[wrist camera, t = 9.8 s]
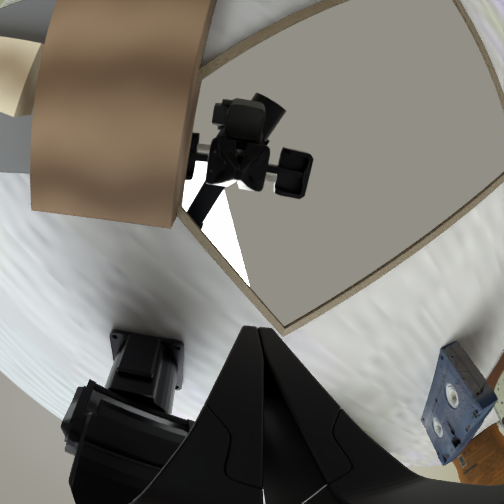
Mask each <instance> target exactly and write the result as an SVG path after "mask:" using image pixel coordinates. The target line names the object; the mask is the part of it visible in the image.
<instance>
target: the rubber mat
mask: <svg viewBox="0 0 504 504" xmlns="http://www.w3.org/2000/svg"><path fill="white" fill-rule="evenodd" d="M56 2H57V0H23V1H20V2H17V3H14V4H12V5H9V6H7V7H4V8H2V9H0V36H1V37H8V38H15V39H21V40H27V41H32V42H37V43H42V44H45V40H46V36H47V32H48V28H49V25H50V21H51V18H52V14H53V11H54V8H55V5H56ZM33 108H34V106H33ZM32 118H33V109H32V112H31V115H26V116H18V117H12V116H10V115H7V114H4V113H2V112H0V172H7V173H30V150H31V130H32Z"/></svg>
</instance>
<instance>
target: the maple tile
mask: <svg viewBox="0 0 504 504" xmlns="http://www.w3.org/2000/svg"><path fill="white" fill-rule="evenodd" d="M43 48H44V44H42V43H37V42H32V41H27V40H21V39H15V38H8V37H1V36H0V112H2V113H4V114H7V115H10V116H12V117H18V116H26V115H31V112H32V109H33V106H34V99H35V92H36V85H37V79H38V73H39V67H40V62H41V57H42V53H43Z"/></svg>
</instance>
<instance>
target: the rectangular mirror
mask: <svg viewBox="0 0 504 504" xmlns="http://www.w3.org/2000/svg"><path fill="white" fill-rule="evenodd" d="M503 182H504V94H503V91H502V88H501V85H500V82H499V80H498V77H497V75H496V72H495V70H494V67H493V65H492V62H491V60H490V58H489V56H488V53H487V51H486V49H485V47H484V45H483V43H482V41H481V39H480V37H479V35H478V33H477V31H476V29H475V27H474V25H473V23H472V21H471V19H470V18H469V16H468V14H467V12H466V11H465V9H464V7H463V6H462V4H461V2H460V1H459V0H323V1H321V2H319V3H316V4H314V5H312V6H309V7H307V8H305V9H303V10H300V11H298V12H296V13H294V14H292V15H290V16H288V17H286V18H284V19H282V20H280V21H278V22H276V23H274V24H272V25H270V26H268V27H266V28H265V29H263V30H261V31H259V32H257V33H256V34H254V35H252V36H250V37H249V38H247V39H245V40H243V41H242V42H240V43H238V44H237V45H235V46H233V47H232V48H230V49H229V50H227V51H225V52H224V53H222V54H221V55H219V56H218V57H216V58H215V59H213V60H212V61H210V62H209V63H207V64H206V65H204V66H203V67H201V68H200V69H199V71H198V76H197V81H196V89H195V94H194V99H193V105H192V110H191V116H190V122H189V128H188V134H187V141H186V147H185V154H184V161H183V168H182V176H181V184H180V192H179V201H178V206H177V217H178V218H179V219H180V220H181V221H182V223H183V224H184V225H185V226H186V227H187V228H188V230H189V231H190V232H191V233H192V234H193V236H194V237H195V238H196V239H197V240H198V241H199V243H200V244H201V245H202V246H203V247H204V248H205V250H206V251H207V252H208V253H209V254H210V255H211V257H212V258H213V259H214V260H215V261H216V262H217V264H218V265H219V266H220V267H221V268H222V269H223V270H224V272H225V273H226V274H227V275H228V276H229V277H230V278H231V280H232V281H233V282H234V283H235V284H236V285H237V286H238V288H239V289H240V290H241V291H242V292H243V293H244V294H245V295H246V297H247V298H248V299H249V300H250V301H251V302H252V303H253V304H254V306H255V307H256V308H257V309H258V310H259V311H260V312H261V313H262V314H263V316H264V317H265V318H266V319H267V320H268V321H269V322H270V323H271V324H272V325H273V327H274V328H275V329H276V330H277V331H278V332H279V333H280V334H281V335H282V336H283V337H284V336H285V335H287V334H289V333H291V332H293V331H294V330H296V329H298V328H300V327H301V326H303V325H305V324H307V323H308V322H310V321H312V320H313V319H315V318H317V317H318V316H320V315H322V314H323V313H325V312H327V311H328V310H330V309H332V308H333V307H335V306H337V305H338V304H340V303H341V302H343V301H345V300H346V299H348V298H349V297H351V296H353V295H354V294H356V293H357V292H359V291H360V290H362V289H363V288H365V287H367V286H368V285H370V284H371V283H373V282H374V281H376V280H377V279H379V278H380V277H382V276H383V275H385V274H386V273H387V272H389V271H390V270H392V269H393V268H395V267H396V266H398V265H399V264H400V263H402V262H403V261H405V260H406V259H408V258H409V257H410V256H412V255H413V254H415V253H416V252H417V251H419V250H420V249H421V248H423V247H424V246H425V245H427V244H428V243H430V242H431V241H432V240H434V239H435V238H436V237H437V236H439V235H440V234H441V233H443V232H444V231H445V230H447V229H448V228H449V227H450V226H452V225H453V224H454V223H455V222H457V221H458V220H459V219H461V218H462V217H463V216H464V215H465V214H467V213H468V212H469V211H470V210H472V209H473V208H474V207H475V206H476V205H478V204H479V203H480V202H481V201H482V200H483V199H485V198H486V197H487V196H488V195H489V194H490V193H492V192H493V191H494V190H495V189H496V188H497V187H498V186H500V185H501V184H502V183H503Z"/></svg>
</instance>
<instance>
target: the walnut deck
mask: <svg viewBox="0 0 504 504" xmlns="http://www.w3.org/2000/svg"><path fill="white" fill-rule="evenodd" d="M216 1H217V0H57V2H56V5H55V8H54V11H53V14H52V18H51V21H50V25H49V28H48V32H47V36H46V40H45V44H44V48H43V53H42V57H41V62H40V67H39V73H38V79H37V85H36V92H35V99H34V108H33V118H32V130H31V150H30V188H31V208H32V210H33V211H42V212H50V213H57V214H65V215H73V216H81V217H89V218H96V219H104V220H111V221H119V222H126V223H134V224H141V225H148V226H155V227H163V228H170V229H171V227H172V225H173V223H174V221H175V219H176V217H177V206H178V201H179V192H180V184H181V176H182V168H183V161H184V154H185V147H186V141H187V134H188V128H189V122H190V116H191V110H192V105H193V99H194V94H195V89H196V81H197V76H198V71H199V69H200V67H201V62H202V58H203V53H204V49H205V44H206V40H207V36H208V32H209V28H210V24H211V20H212V16H213V12H214V8H215V4H216Z"/></svg>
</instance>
